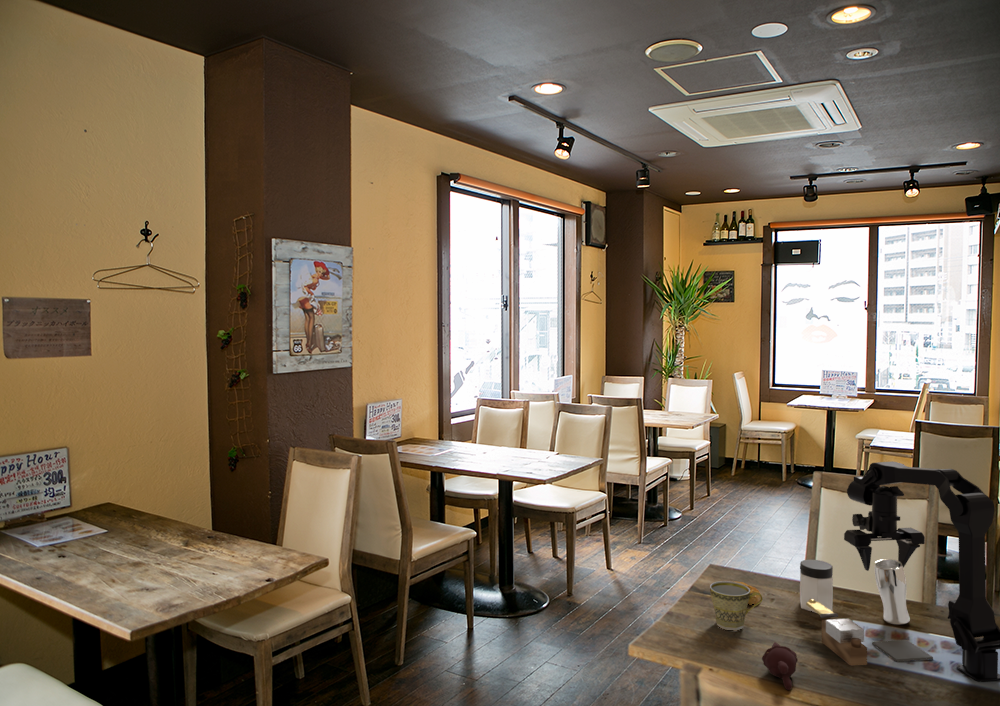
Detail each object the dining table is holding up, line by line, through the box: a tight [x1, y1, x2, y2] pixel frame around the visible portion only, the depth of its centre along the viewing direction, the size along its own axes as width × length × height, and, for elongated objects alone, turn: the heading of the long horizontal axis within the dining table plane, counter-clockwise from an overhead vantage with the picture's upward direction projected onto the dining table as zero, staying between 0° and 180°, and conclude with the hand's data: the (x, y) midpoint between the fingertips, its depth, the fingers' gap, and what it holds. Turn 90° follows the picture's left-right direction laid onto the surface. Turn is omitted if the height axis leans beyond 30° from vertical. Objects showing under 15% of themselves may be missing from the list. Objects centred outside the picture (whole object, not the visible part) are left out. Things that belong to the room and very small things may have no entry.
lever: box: [806, 599, 839, 619], centre depth 177 cm, size 9×4×2 cm, turn 6°
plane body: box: [821, 618, 868, 667], centre depth 167 cm, size 12×4×6 cm, turn 6°
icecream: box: [761, 641, 798, 691], centre depth 157 cm, size 7×7×15 cm
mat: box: [871, 639, 934, 663], centre depth 168 cm, size 9×9×1 cm
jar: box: [799, 559, 834, 614], centre depth 194 cm, size 9×8×12 cm
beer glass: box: [873, 558, 911, 625], centre depth 184 cm, size 7×7×15 cm
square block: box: [826, 618, 865, 643], centre depth 167 cm, size 6×6×3 cm
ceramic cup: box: [709, 580, 763, 631], centre depth 182 cm, size 13×10×10 cm
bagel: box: [734, 580, 761, 606], centre depth 200 cm, size 10×11×5 cm
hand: (883, 569), depth 183 cm, fingers open, 9 cm apart
